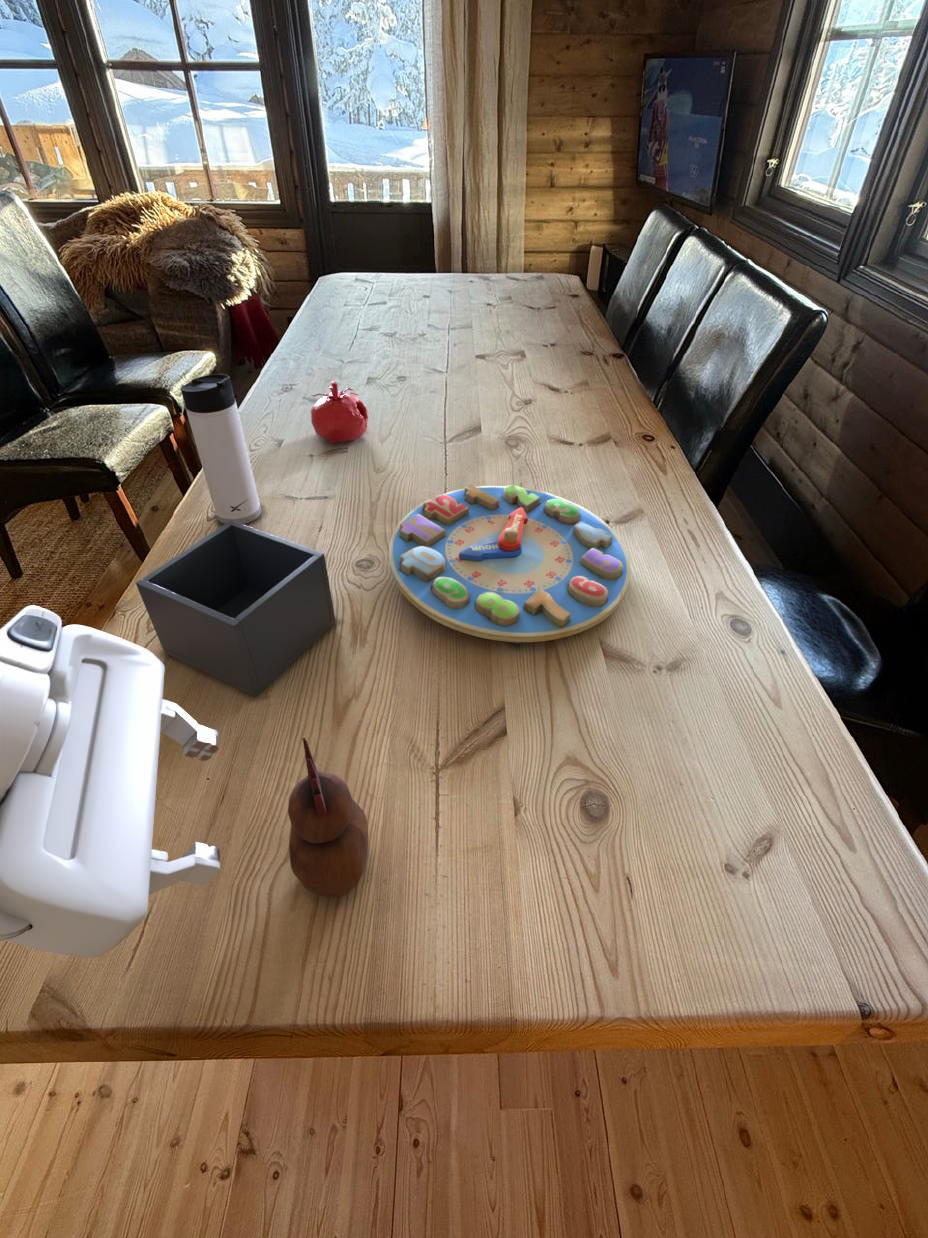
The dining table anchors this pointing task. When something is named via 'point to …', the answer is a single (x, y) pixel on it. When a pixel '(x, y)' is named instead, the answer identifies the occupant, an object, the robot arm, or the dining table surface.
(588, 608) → the shape sorting clock
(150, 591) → the tote
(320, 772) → the wooden figurine
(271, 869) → the dining table surface
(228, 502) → the travel mug
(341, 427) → the pomegranate
